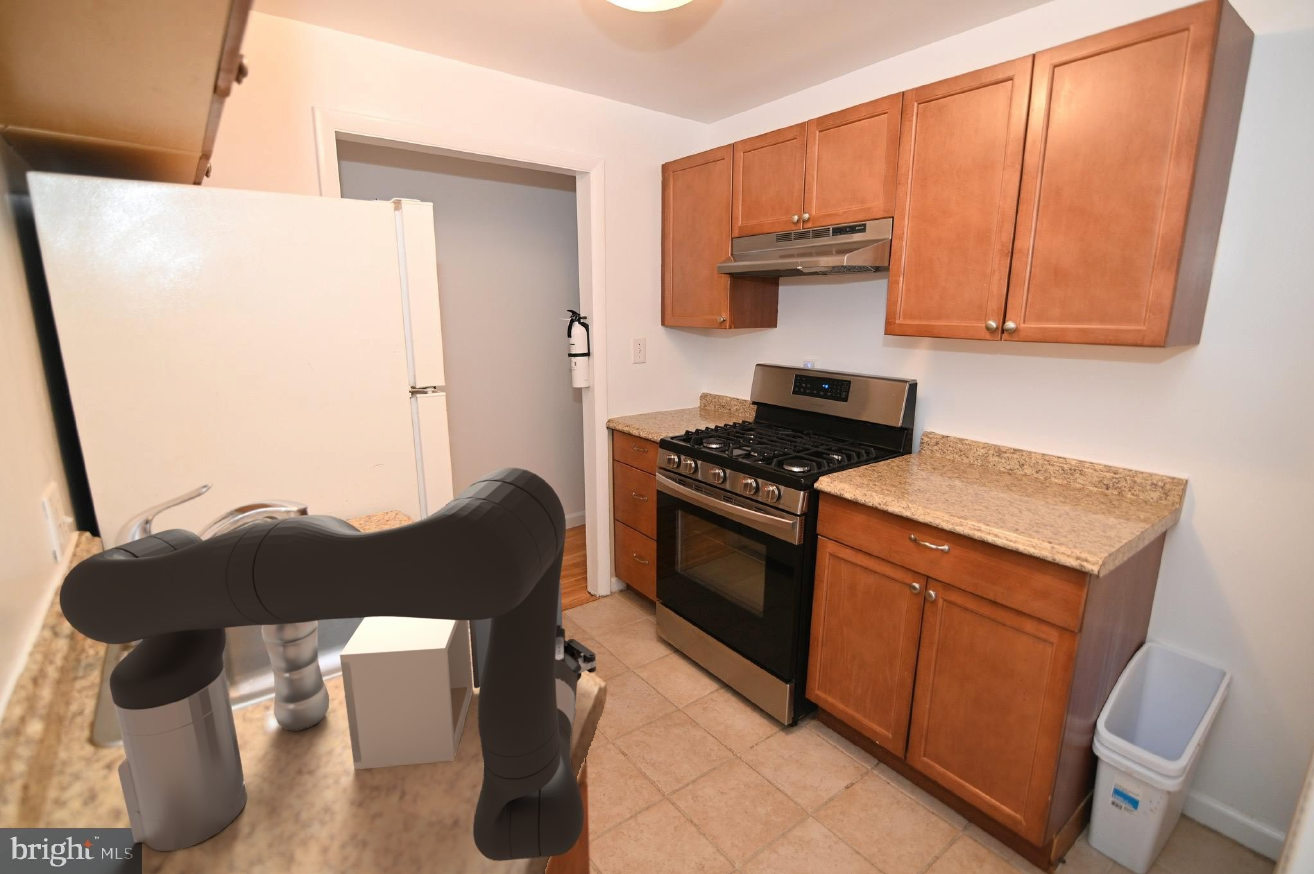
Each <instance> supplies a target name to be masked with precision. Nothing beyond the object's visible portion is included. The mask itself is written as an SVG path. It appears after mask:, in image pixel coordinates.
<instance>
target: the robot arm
mask: <svg viewBox="0 0 1314 874" xmlns="http://www.w3.org/2000/svg"><path fill="white" fill-rule="evenodd" d="M566 522H567V521H566V514H565V511H564V507H563V504H562V502H561V499H560V498H559V495H558V494H557V493H556V492H555V490H554V488H553V487H552V486H551V485H550V484H549V483H548V482H547V481H546V480H545V479H543V478H542V477H541V476H539V475H538V474H536V473H534V472H532V471H530V470H527V469H524V468H519V467H503V468H499V469H495V470H493V471H491V472H488V473H487V474H485V475H483V476H482V477H480V478H479V479H477V480H476V481H474V482H473V483H472V484H470V485H469V486H468V487H466V488H465V489H464V490H463V491H462V492H461V493H459V494H458V495H456V496H455V497H454V498H453V499H451V500H450V501H449V502H448V503H447V504H445V505H444V506H443V507H441V508H440V509H438V510H437V511H435V512H434V513H432V514H431V515H428V516H427V517H425V518H422V519H420V520H416V521H414V522H411V523H407V524H404V525H400V526H395V527H391V528H385V529H381V530H375V531H367V532H365V531H364V532H362V531H361V530H360V529H359V528H358V527H356V526H354V525H353V524H351V523H350V522H348V521H346V520H345V519H342V518H339V517H336V516H332V515H327V514H305V515H297V516H290V517H284V518H280V519H279V518H277V519H273V520H267V521H262V522H258V523H255V524H251V525H247V526H246V525H245V526H243V527H239V528H236V529H232V530H230V531H227V532H223V533H221V534H218V535H215V536H213V537H212V536H211V537H209V538H206V539H204V540H203V539H202V538H201V537H200V536H199V535H197V534H196V533H194V532H193V531H190V530H187V529H183V528H171V529H167V530H166V529H165V530H163V531H160V532H159V531H158V532H155V533H152V534H150V535H147V536H144V537H141V538H138V539H134V540H132V541H129V542H126V543H123V544H120V545H117V546H114V547H112V548H109V549H105V550H102V551H100V552H98V553H94V554H93V555H91V556H89V557H87V558H85V559H83V560H81V561H80V562H78V563H77V564H75V566H73V567H72V568H71V569H70V570H69V572H68V573H67V575H65V578H64V579H63V582H62V584H61V587H60V589H59V599H58V600H59V606H60V609H61V613H62V615H63V616H64V618H65V620H66V621H67V622H68V623H69V625H70V627H72V628H73V629H75V630H76V631H77V632H78V633H80V634H82V635H83V636H85V637H86V638H88V639H90V640H93V641H96V642H99V643H103V644H107V645H124V644H129V643H133V642H137V641H140V642H139V643H138V644H137V645H136V646H135V647H134V648H133V649H131V650H130V652H128V654H126V655H125V656H124V657H123V658H122V659H121V660H120V661H119V662H118V663H117V664H116V666H115V667H114V668H113V670H112V672H111V674H110V677H109V691H110V694H111V699H112V701H113V702H112V703H113V706H114V711H115V716H116V719H117V723H118V727H119V731H120V736H121V740H122V744H123V745H122V746H123V749H124V753H125V759H124V760H122V762H121V763H120V764H119V765H118V767H117V773H118V776H119V781H120V786H121V789H122V794H123V797H124V798H123V799H124V804H125V808H126V811H127V816H128V820H129V824H130V829H131V833H132V838H133V841H134V843H136V844H138V843H144V844H146V845H147V846H148V847H149V848H150V849H151V850H152V849H153V850H155V851H161V852H162V851H163V852H170V851H177V850H182V849H186V848H190V847H192V846H195V845H197V844H200V843H201V842H204V841H205V840H207V839H210V838H211V837H213V836H215V835H216V834H219V833H220V832H221V831H222V830H223V829H225V828H227V826H229V825H230V824H231V823H232V821H234V820H235V819H236V818H237V817H238V816H239V814H240V813H242V810H243V808H244V806H245V805H246V802H247V798H248V795H247V788H246V780H245V777H244V771H243V764H242V763H243V762H242V759H241V752H240V747H239V741H238V735H237V730H236V725H235V719H234V714H233V708H232V702H231V698H230V697H231V696H230V691H229V684H228V681H227V675H226V670H225V665H224V664H225V663H224V657H223V655H224V651H225V647H226V644H227V643H226V642H227V634H226V629H228V628H237V627H247V626H248V627H251V626H262V625H278V624H291V623H304V622H311V621H324V620H325V621H326V620H327V621H328V620H338V619H339V620H344V619H346V620H347V619H359V618H360V619H361V618H362V619H364V618H365V617H409V618H426V619H443V620H468V621H469V620H483V619H489V618H491V623H490V631H489V638H488V645H487V650H486V656H485V661H484V667H483V672H482V677H481V683H480V687H479V688H478V689H479V690H478V701H477V725H478V726H477V727H478V733H479V740H480V748H481V755H482V761H483V777H482V784H481V789H480V793H479V796H478V799H477V803H476V806H475V807H476V808H475V812H474V817H473V826H472V827H473V828H472V830H473V831H472V833H473V840H474V843H475V846H476V848H477V850H478V851H479V853H480V854H481V855H482V856H484V857H485V858H486V859H488V860H490V861H494V862H505V861H514V860H525V859H537V858H548V857H558V856H561V855H565V854H566V853H569V851H571V850H572V849H573V847H574V846H575V845H576V844H577V842H578V841H579V839H580V837H581V835H582V831H583V829H584V828H583V827H584V822H585V820H584V819H585V811H584V802H583V797H582V793H581V789H580V786H579V783H578V780H577V777H576V775H575V771H574V768H573V766H572V761H571V759H572V758H571V743H572V731H573V727H574V723H575V719H576V718H575V717H576V714H577V708H576V704H577V690H578V682H579V680H580V679H581V678H582V676H583V675H582V673H584V672H588V673H589V674H593V673H595V672H596V671H597V663H596V661H597V660H596V656H597V655H596V653H595V652H594V651H592V650H590V649H589V648H588V647H586V646H585V645H583V644H582V643H581V642H579V641H578V640H576V639H575V638H569V639H567V640H566V629H565V628H563V627H562V628H561V625H557V611H558V596H559V584H560V581H561V574H562V566H563V560H564V551H565V544H566V543H565V542H566V531H567V523H566Z"/></svg>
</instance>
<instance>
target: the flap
mask: <svg viewBox="0 0 1314 874" xmlns="http://www.w3.org/2000/svg"><path fill="white" fill-rule="evenodd" d="M562 606H563V605H562V581H561V580H560V584H559V596H558V611H557V625H561V628H563V609H562V608H563V607H562ZM490 623H491V618H489V619H483V620H468V626H469V640H470V654H471V668H472V682H473V689H480V683H481V677H482V672H483V667H484V661H485V656H486V650H487V645H488V638H489V631H490Z"/></svg>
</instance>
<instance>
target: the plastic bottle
mask: <svg viewBox="0 0 1314 874" xmlns="http://www.w3.org/2000/svg"><path fill="white" fill-rule="evenodd" d="M318 621H319V620H318ZM318 621H311V622H304V623H291V624H278V625H261V631H260V632H261V636H262V640H263V642H264V645H265V648H266V651H267V654H268V657H269V660H270V665H271V667H272V672H273V680H274V681H273V684H274V703H273V704H274V705H273V715H274V717H275V718H276V722H277V724H278V726H280V727H281V728H283V729H285V730H287V731H291V732H292V731H293V732H294V731H295V732H296V731H302V730H306V729H309V728H311V727H313V726H315V725H317V724H319V723H320V722H321V721H322V720H323V719H324V717H326V714H327V712H328V710H329V707H330V706H329V705H330V695H329V691H328V689H327V686H326V684H325V682H324V679H323V674H322V670H321V666H320V662H319V650H318V632H319V629H318V628H319V624H318V623H319V622H318Z"/></svg>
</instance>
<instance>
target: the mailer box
mask: <svg viewBox="0 0 1314 874" xmlns="http://www.w3.org/2000/svg"><path fill="white" fill-rule="evenodd" d="M339 659H340V667H341V675H342V682H343V683H342V684H343V690H344V699H345V700H344V701H345V705H346V706H345V707H346V716H347V721H348V728H349V729H348V730H349V731H348V732H349V736H350V737H349V738H350V739H349V740H350V746H351V747H350V748H351V754H352V760H353V761H352V762H353V767H354V768H353V769H354V770H362V769H373V768H376V769H377V768H386V767H387V768H388V767H396V766H397V767H398V766H409V765H419V764H420V765H421V764H431V763H441V762H443V763H444V762H454V761H455V760H456V759H455V758H456V755H457V752H458V747H459V745H460V740H461V737H462V733H463V731H464V730H463V729H464V726H465V721H466V718H467V715H468V711H469V707H470V703H471V699H472V695H473V692H474V682H473V668H472V654H471V640H470V626H469V620H443V619H426V618H409V617H364V618H362V621H361V622H360V623H359V625H358V627H357V628H356V630H355V631H354V633H353V635H352V636H351V637H350V639H349V640H348V642H347V643H346V645H345V647H343V649H342V651H341V652H340V654H339Z"/></svg>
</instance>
